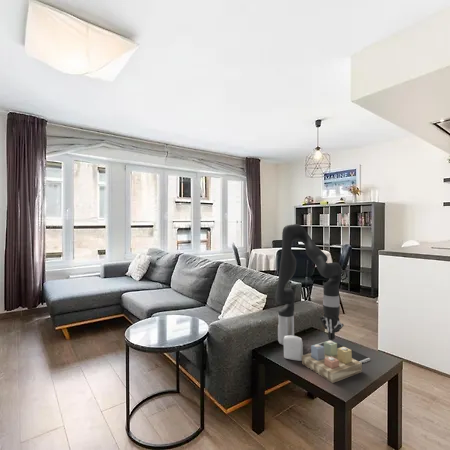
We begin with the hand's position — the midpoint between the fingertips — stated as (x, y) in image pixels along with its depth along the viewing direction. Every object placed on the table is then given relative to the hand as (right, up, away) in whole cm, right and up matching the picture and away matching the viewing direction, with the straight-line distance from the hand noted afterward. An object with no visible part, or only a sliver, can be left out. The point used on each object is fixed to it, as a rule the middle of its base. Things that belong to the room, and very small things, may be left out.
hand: (331, 339), depth 138 cm
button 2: (+4, -13, +12) cm, 18 cm away
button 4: (+8, -13, +4) cm, 15 cm away
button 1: (-4, -13, +8) cm, 16 cm away
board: (+2, -17, +6) cm, 18 cm away
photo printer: (-15, -17, +17) cm, 28 cm away
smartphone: (+14, -17, +22) cm, 32 cm away
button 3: (0, -16, 0) cm, 16 cm away
